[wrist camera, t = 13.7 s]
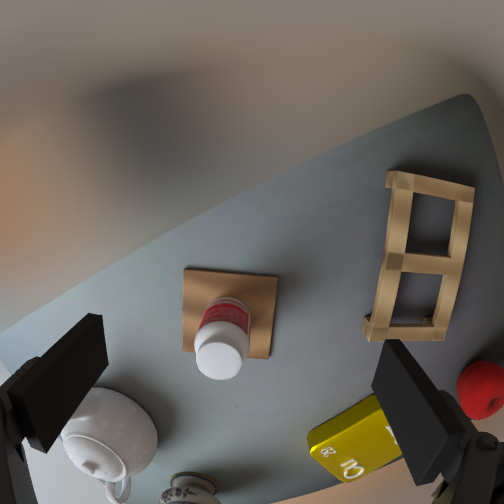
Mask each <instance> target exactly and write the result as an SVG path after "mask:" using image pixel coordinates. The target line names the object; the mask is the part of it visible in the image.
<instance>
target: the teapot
mask: <svg viewBox="0 0 504 504" xmlns="http://www.w3.org/2000/svg"><path fill="white" fill-rule="evenodd" d="M61 434H62V439H63V442H64V448H65V450H66V452H67V454H68V456H69V457H70V458H71V460H72V461H73V463H74V464H75V465H76V466H77V467H78V468H80V469H81V470H82V471H83V472H84V473H85V474H87V475H91V476H93V477H96V478H99V479H102V480H105V481H106V485H105V490H106V494H107V497H108V498H109V500H110V501H111V502H113V503H116V504H122V503H124V502H125V501H126V500H127V499H128V497H129V494H130V489H131V478H130V477H131V476H134V475H136V474H138V473H139V472H141V471H142V470H144V469H145V468H146V467H147V466H148V465H149V463H150V462H151V460H152V459H153V457H154V454H155V452H156V448H157V431H156V428H155V426H154V423H153V421H152V420H151V418H150V417H149V415H148V414H147V413H146V412H145V411H144V410H143V409H142V408H141V407H140V406H139V405H138V404H137V403H136V402H134V401H133V400H131V399H130V398H128V397H126V396H125V395H123V394H121V393H118V392H116V391H113V390H110V389H106V388H91V390H90V391H89V392H88V394H87V395H86V397H85V398H84V399H83V401H82V402H81V404H80V405H79V407H78V408H77V409H76V411H75V412H74V414H73V415H72V417H71V418H70V420H69V421H68V422H67V424H66V425H65V427H64V428H63V430H62V431H61ZM121 480H122V491H121V494H120V496H119V497H118V498H116V497H115V493H114V486H115V482H117V481H121Z"/></svg>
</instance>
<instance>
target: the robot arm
mask: <svg viewBox="0 0 504 504" xmlns="http://www.w3.org/2000/svg"><path fill="white" fill-rule="evenodd" d="M108 365H109V363H108V357H107V350H106V343H105V335H104V327H103V318H102V315H97V314H91V313H88V314H87V315H86V316H85V317H84V318H82V319H81V320H80V321H79V322H78V323H77V324H76V325H75V326H74V327H72V328H71V329H70V330H69V331H68V332H67V333H66V334H65V335H64V336H63V337H62V338H61V339H59V340H58V341H57V342H56V343H55V344H54V345H53V346H52V347H51V348H50V349H49V350H48V351H47V352H46V353H45V354H43V355H42V356H41V357H37V356H36V357H34V358H32V359H30V360H28V361H27V362H25V363H24V364H23V365H22V366H21V367H20V369H18V370H17V371H16V372H15V374H13V375H12V376H11V377H10V378H9V379H8V380H7V381H6V382H4V383H3V384H2V385H1V386H0V504H38V502H37V499H36V495H35V492H34V488H33V485H32V481H31V477H30V473H29V469H28V464H27V460H26V456H25V451H24V448H23V445H22V443H21V442H22V441H23V439H24V438H25V437H26V438H27V440H28V442H29V444H30V446H31V447H32V448H34V449H36V450H39V451H41V452H43V453H46V454H47V452H48V451H49V449H50V448H51V446H52V445H53V443H54V442H55V440H56V439H57V437H58V436H59V434H60V433H61V431H62V430H63V428H64V427H65V425H66V424H67V422H68V421H69V420H70V418H71V417H72V415H73V414H74V412H75V411H76V409H77V408H78V407H79V405H80V404H81V402H82V401H83V399H84V398H85V397H86V395H87V394H88V392H89V391H90V390H91V388H92V387H93V385H94V384H95V383H96V381H97V380H98V378H99V377H100V376H101V374H102V373H103V371H104V370H105V369H106V367H107V366H108ZM371 387H372V389H373V391H374V393H375V396H376V398H377V400H378V402H379V404H380V406H381V408H382V410H383V413H384V415H385V417H386V419H387V421H388V423H389V426H390V428H391V430H392V432H393V434H394V437H395V439H396V441H397V443H398V445H399V448H400V450H401V452H402V454H403V457H404V459H405V461H406V463H407V466H408V468H409V470H410V473H411V475H412V477H413V480H414V482H415V484H416V486H419V485H423V484H428V483H432V482H434V480H435V479H436V478H437V476H438V475H439V473H440V472H441V474H442V476H443V478H444V479H443V481H442V482H441V483H440V485H439V486H438V487H437V489H436V490H435V491H434V493H433V494H432V496H434V495H435V494H436V495H435V497H434V500H433V502H432V504H504V442H499V441H498V439H497V438H496V437H495V436H493V435H492V434H490V433H488V432H478V430H477V429H476V428H475V427H474V425H473V423H472V422H471V421H470V419H469V418H468V417H467V415H466V414H465V412H463V410H462V408H461V407H460V406H458V403H457V402H456V400H455V399H454V398H453V396H451V395H450V394H449V393H447V392H446V391H444V390H437V388H436V387H435V385H434V384H433V383H432V381H431V380H430V379H429V377H428V376H427V375H426V373H425V372H424V371H423V369H422V368H421V367H420V365H419V364H418V363H417V361H416V360H415V359H414V357H413V356H412V355H411V353H410V352H409V351H408V349H407V348H406V347H405V346H404V344H403V343H402V342H401V340H400V339H385V341H384V345H383V348H382V352H381V356H380V359H379V362H378V366H377V369H376V372H375V376H374V379H373V382H372V385H371Z"/></svg>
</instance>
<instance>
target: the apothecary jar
mask: <svg viewBox="0 0 504 504" xmlns="http://www.w3.org/2000/svg"><path fill="white" fill-rule="evenodd" d="M170 485H171V487H172V488H170V489H168V490H166V491H164V492H163V493H162V494H161V496H160V499H159V502H160V504H221V503H220V501H219V500H218V499H217V498H216V497H215V496H214V495H215V494H216V493H217V492H218V485H217V484H216V482H215V481H213V480H212V479H211V478H209V477H207V476H204V475H201V474H198V473H190V472H183V473H178V474H175V475H174V476H172V477H171V479H170Z"/></svg>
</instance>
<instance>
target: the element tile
mask: <svg viewBox="0 0 504 504" xmlns="http://www.w3.org/2000/svg"><path fill="white" fill-rule="evenodd" d="M307 440H308V445H309V451H310V455H311V456H312V457H313V458H314V459H315V460H316V461H318V462H319V463H320V464H321V465H322V466H324V467H325V468H326V469H327V470H328V471H330V472H331V473H332V474H333V475H334V476H336V477H337V478H338V479H339V480H341V481H343V482H347V483H348V482H352V481H354V480H356V479H358V478H361V477H362V476H364V475H366V474H368V473H370V472H372V471H374V470H376V469H378V468H379V467H381V466H383V465H385V464H386V463H388V462H390V461H392V460H393V459H395V458H397V457H398V456H400V455H402V452H401V450H400V448H399V445H398V443H397V441H396V439H395V437H394V434H393V432H392V430H391V428H390V426H389V423H388V421H387V419H386V417H385V415H384V413H383V410H382V408H381V406H380V404H379V402H378V400H377V398H376V396H375V394H373V395H371V396H369V397H368V398H366V399H364V400H363V401H361V402H360V403H358V404H356V405H355V406H353V407H351V408H350V409H348V410H347V411H345V412H343V413H341V414H340V415H338V416H336V417H335V418H333V419H331V420H329V421H328V422H326V423H324V424H322V425H320V426H319V427H317V428H315V429H313V430H312V431H310V432H309V434H308V436H307Z"/></svg>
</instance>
